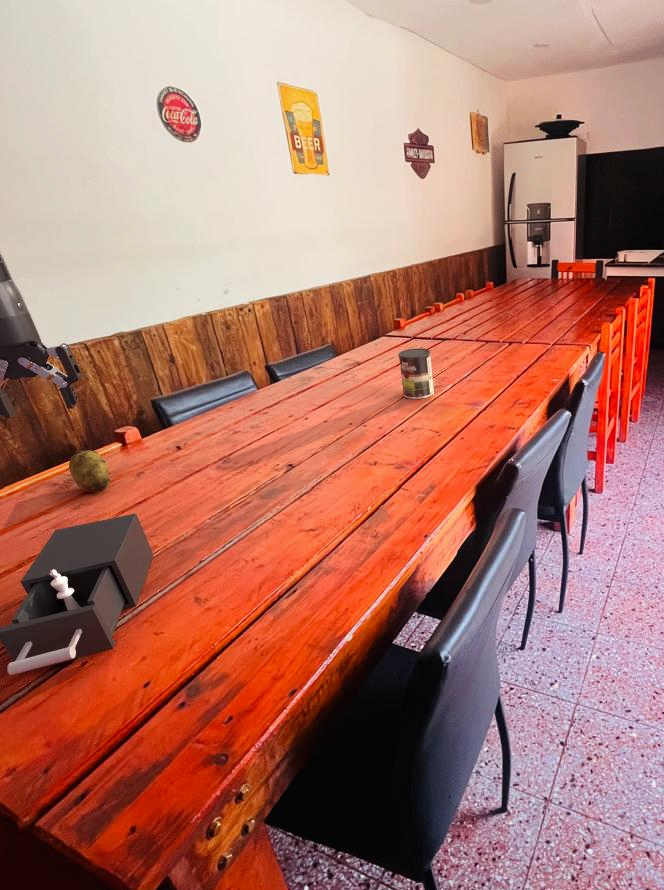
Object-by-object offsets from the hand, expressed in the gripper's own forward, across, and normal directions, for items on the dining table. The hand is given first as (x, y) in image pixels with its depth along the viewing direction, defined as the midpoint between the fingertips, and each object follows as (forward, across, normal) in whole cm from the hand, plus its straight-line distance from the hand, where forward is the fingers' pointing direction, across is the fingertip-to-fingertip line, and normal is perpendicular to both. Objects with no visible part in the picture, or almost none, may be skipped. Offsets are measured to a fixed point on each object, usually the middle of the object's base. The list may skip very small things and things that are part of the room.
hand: (42, 411), depth 85 cm
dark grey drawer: (+29, -2, +24) cm, 38 cm away
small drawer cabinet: (+30, -2, +11) cm, 32 cm away
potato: (+30, +10, -35) cm, 47 cm away
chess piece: (+28, -1, +21) cm, 35 cm away
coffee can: (+30, -77, -58) cm, 101 cm away
